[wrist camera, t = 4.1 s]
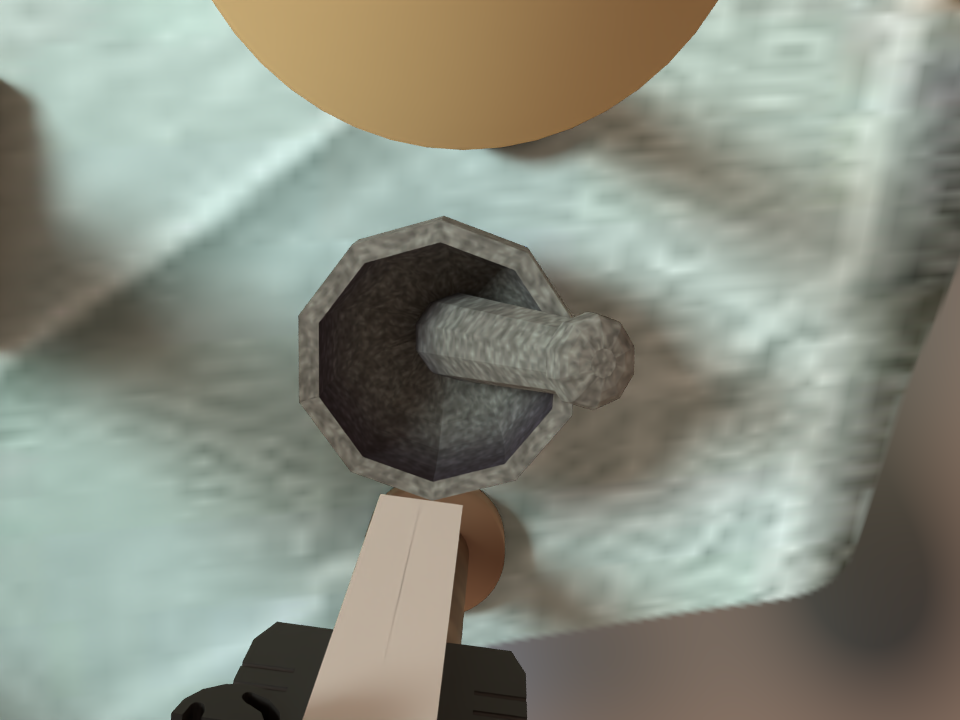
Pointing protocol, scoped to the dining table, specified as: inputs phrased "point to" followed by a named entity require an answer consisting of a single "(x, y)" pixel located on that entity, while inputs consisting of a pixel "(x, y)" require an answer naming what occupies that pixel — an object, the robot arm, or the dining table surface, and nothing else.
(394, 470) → the mortar and pestle
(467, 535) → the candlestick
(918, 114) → the dining table surface
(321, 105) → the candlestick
